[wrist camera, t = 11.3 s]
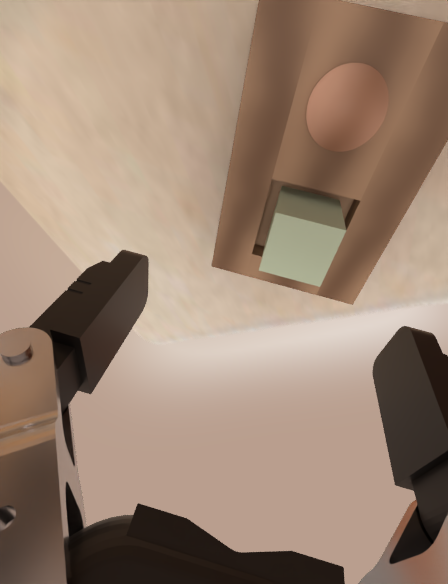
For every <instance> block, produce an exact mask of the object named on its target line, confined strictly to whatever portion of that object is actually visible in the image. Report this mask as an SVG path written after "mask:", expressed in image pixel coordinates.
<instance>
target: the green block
mask: <svg viewBox="0 0 448 584" xmlns="http://www.w3.org/2000/svg"><path fill="white" fill-rule="evenodd" d="M345 233H346V227H345V222H344V217H343V213H342V208H341V204H340V200H337V199H333V198H329V197H325V196H321V195H317V194H313V193H309V192H305V191H301V190H297V189H293V188H289V187H285V186H281V190H280V193H279V197H278V200H277V204H276V207H275V211H274V214H273V217H272V221H271V224H270V228H269V231H268V235H267V238H266V242H265V247H264V251H263V255H262V259H261V263H260V267H259V271H263V272H266V273H270V274H274V275H278V276H281V277H285V278H289V279H292V280H296V281H300V282H304V283H307V284H311V285H315V286H318V287H320V286H321V284H322V282H323V280H324V278H325V275H326V273H327V271H328V269H329V267H330V265H331V263H332V260H333V258H334V256H335V254H336V252H337V250H338V248H339V245H340V243H341V241H342V239H343V237H344V235H345Z"/></svg>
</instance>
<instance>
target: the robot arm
mask: <svg viewBox="0 0 448 584" xmlns="http://www.w3.org/2000/svg"><path fill="white" fill-rule="evenodd" d="M147 296H148V257H147V256H145V255H141V254H138V253H134V252H130V251H126V250H122V251H121V252H120V253H119V254H118V255H117V256H116V257H115V258H114V259H113V260H112V261H111V262H110V263H109V262H105V261H102V262H100V263H98V264H95V265H93V266H91V267H89V268H87V269H86V270H85V271H84V272H83V273H82V274H81V276H79V278H77V281H76V282H75V281H74V283H73V284H71V286H70V287H69V288H68V290H67V291H65V292H64V293H63V294H62V295H61V296H60V297H59V298H58V299H57V300H56V301H55V302H54V303H53V304H52V305H51V306H50V307H49V308H48V309H47V310H46V311H45V312H44V313H43V314H42V315H41V316H40V317H39V318H38V319H37V320H36V321H35V322H34V323H33V324H32V325H31V326H30V327H27V328H16V329H12V330H9V331H6V332H3V333H1V334H0V584H345V583H344V568H343V567H342V566H338V565H335V564H332V563H329V562H325V561H322V560H319V559H316V558H313V557H309V556H306V555H303V554H300V553H296V552H293V551H278V552H249V553H248V552H247V553H241V552H236V551H233V550H232V549H230V548H228V547H227V546H226V545H224V544H223V543H221V542H220V541H218V540H217V539H216V538H214V537H213V536H211V535H210V534H209V533H207V532H206V531H204V530H203V529H201V528H200V527H198V526H197V525H195V524H194V523H193V522H191V521H190V520H188V519H187V518H184V517H180V516H177V515H173V514H171V513H167V512H164V511H161V510H158V509H154V508H151V507H148V506H145V505H141V504H137V507H136V510H135V513H134V515H123V516H117V517H112V518H108V519H105V520H102V521H99V522H96V523H94V524H92V525H90V526H88V527H86V520H85V512H84V504H83V496H82V491H81V486H80V480H79V475H78V468H77V461H76V452H75V444H74V435H73V426H72V417H71V408H70V401H71V400H72V398H73V397H74V395H75V394H76V392H77V391H82V392H85V393H89V394H91V393H92V392H93V390H94V388H95V387H96V385H97V384H98V382H99V380H100V379H101V377H102V376H103V374H104V372H105V371H106V369H107V368H108V366H109V364H110V363H111V361H112V359H113V358H114V356H115V354H116V353H117V351H118V350H119V348H120V347H121V345H122V343H123V342H124V340H125V339H126V337H127V335H128V334H129V332H130V330H131V329H132V327H133V326H134V324H135V322H136V321H137V319H138V318H139V316H140V314H141V313H142V311H143V309H144V307H145V304H146V301H147ZM373 379H374V384H375V388H376V393H377V398H378V403H379V407H380V413H381V418H382V422H383V428H384V433H385V437H386V442H387V447H388V452H389V457H390V462H391V467H392V472H393V476H394V482H395V485H396V486H400V487H403V488H407V489H410V490H413V491H414V492H415V496H416V500H415V501H413V502H412V503H411V504H410V505H409V507H408V509H407V511H406V512H405V514H404V516H403V518H402V520H401V521H400V523H399V525H398V527H397V529H396V531H395V533H394V534H393V536H392V538H391V540H390V542H389V543H388V545H387V547H386V549H385V551H384V553H383V555H382V556H381V558H380V560H379V562H378V563H377V564H376V566H375V567H374V568H373V569H372V570H371V571H370V572H368V573H367V574H366V575H365V576H364V577H363V578H362V579H361V581H360V582H359V583H358V584H448V356H447V355H445V354H443V353H442V351H441V348H440V346H439V344H438V342H437V339H436V337H435V336H434V335H433V334H432V333H429V332H426V331H422V330H418V329H415V328H411V327H407V326H404V327H401V328H400V329H399V330H398V331H397V332H396V334H395V335H394V336H393V337H392V339H391V340H390V341H389V342H388V344H387V345H386V346H385V348H384V349H383V350H382V351H381V352H380V354H379V355H378V356H377V358H376V360H375V362H374V366H373Z"/></svg>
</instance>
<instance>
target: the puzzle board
mask: <svg viewBox="0 0 448 584" xmlns="http://www.w3.org/2000/svg"><path fill="white" fill-rule="evenodd" d="M447 140H448V23H445V22H441V21H436V20H431V19H426V18H421V17H417V16H412V15H407V14H402V13H397V12H393V11H388V10H383V9H378V8H373V7H368V6H364V5H359V4H354V3H349V2H344V1H340V0H259V3H258V8H257V14H256V20H255V25H254V31H253V36H252V42H251V48H250V53H249V59H248V64H247V70H246V76H245V81H244V87H243V93H242V98H241V104H240V109H239V115H238V121H237V126H236V132H235V138H234V143H233V149H232V154H231V160H230V166H229V171H228V177H227V182H226V188H225V194H224V199H223V205H222V211H221V216H220V222H219V227H218V233H217V239H216V244H215V250H214V255H213V261H212V266H213V267H216V268H220V269H224V270H227V271H231V272H235V273H238V274H242V275H246V276H249V277H253V278H257V279H260V280H264V281H268V282H271V283H275V284H279V285H282V286H286V287H290V288H293V289H297V290H301V291H304V292H308V293H312V294H315V295H319V296H323V297H326V298H330V299H334V300H337V301H341V302H345V303H348V304H352V305H353V303H354V301H355V299H356V298H357V296H358V294H359V293H360V291H361V289H362V287H363V286H364V284H365V282H366V280H367V279H368V277H369V275H370V274H371V272H372V270H373V268H374V267H375V265H376V263H377V261H378V260H379V258H380V256H381V255H382V253H383V251H384V249H385V248H386V246H387V244H388V242H389V241H390V239H391V237H392V236H393V234H394V232H395V230H396V229H397V227H398V225H399V223H400V222H401V220H402V218H403V217H404V215H405V213H406V211H407V210H408V208H409V206H410V204H411V203H412V201H413V199H414V197H415V196H416V194H417V192H418V191H419V189H420V187H421V185H422V184H423V182H424V180H425V178H426V177H427V175H428V173H429V172H430V170H431V168H432V166H433V165H434V163H435V161H436V159H437V158H438V156H439V154H440V153H441V151H442V149H443V147H444V146H445V144H446V142H447ZM281 186H285V187H289V188H293V189H297V190H301V191H305V192H309V193H313V194H317V195H321V196H325V197H329V198H333V199H337V200H340V204H341V208H342V213H343V217H344V222H345V227H346V233H345V235H344V237H343V239H342V241H341V243H340V245H339V248H338V250H337V252H336V254H335V256H334V258H333V260H332V263H331V265H330V267H329V269H328V271H327V273H326V275H325V278H324V280H323V282H322V284H321V286H320V287H318V286H315V285H311V284H307V283H304V282H300V281H296V280H292V279H289V278H285V277H281V276H278V275H274V274H270V273H266V272H263V271H259V267H260V263H261V259H262V255H263V251H264V247H265V242H266V238H267V235H268V231H269V228H270V224H271V221H272V217H273V214H274V211H275V207H276V204H277V200H278V197H279V193H280V190H281Z"/></svg>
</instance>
